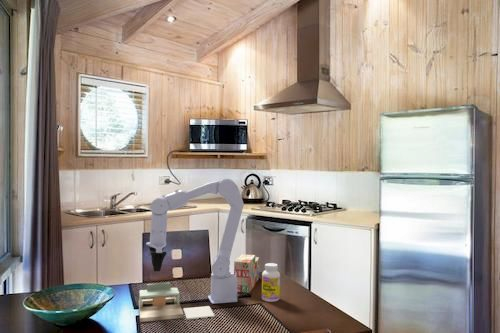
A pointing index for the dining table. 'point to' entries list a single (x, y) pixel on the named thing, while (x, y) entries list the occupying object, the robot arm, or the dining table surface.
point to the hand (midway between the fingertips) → (156, 268)
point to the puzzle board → (160, 311)
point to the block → (159, 301)
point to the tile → (198, 312)
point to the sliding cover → (158, 291)
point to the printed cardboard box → (246, 272)
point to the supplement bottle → (271, 283)
